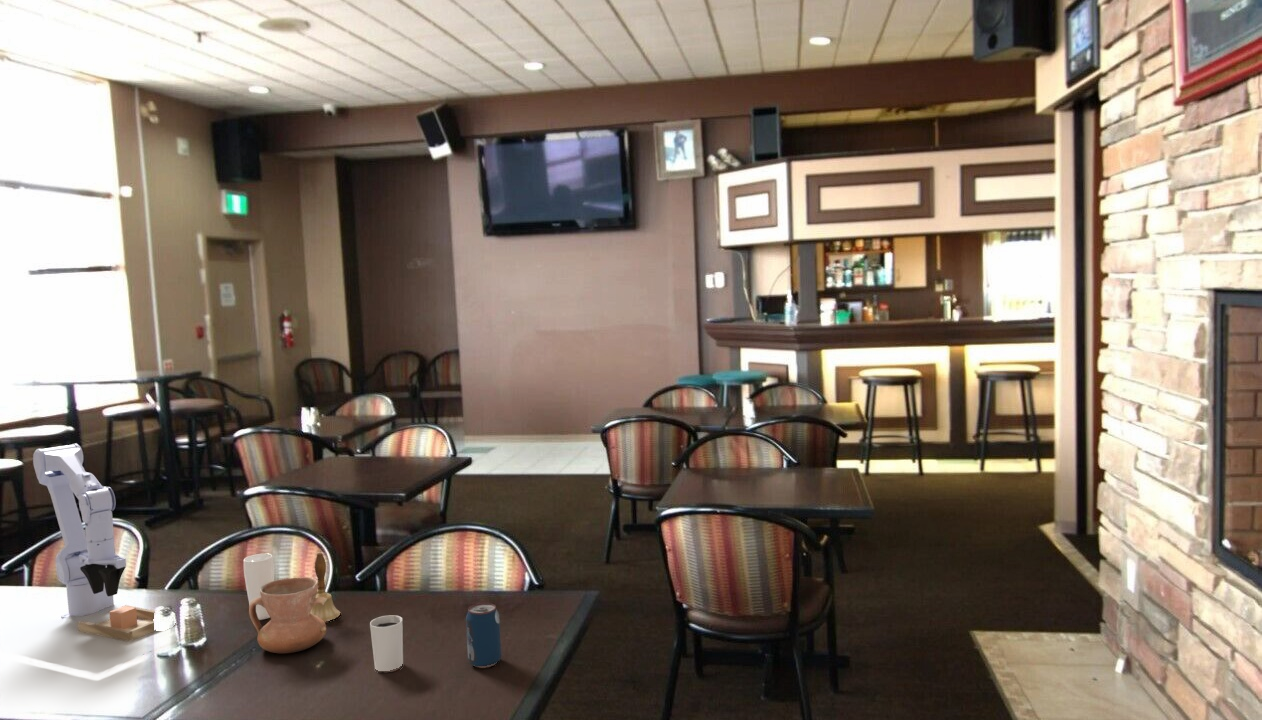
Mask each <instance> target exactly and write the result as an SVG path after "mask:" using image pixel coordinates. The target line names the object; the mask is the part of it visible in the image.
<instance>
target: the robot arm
mask: <svg viewBox="0 0 1262 720" xmlns="http://www.w3.org/2000/svg"><path fill="white" fill-rule="evenodd" d="M32 456H33V457H32V460H33V461H32V462H33V463H32V464H33V468H34V471H35V474H36V478H37V480H38V483H39V485H40V484H41V485H42V486H46V487H47V489H48V492H49V494H50V498H51V502H52V506H53V508H54V512H55V516H56V519H57V523H58V526H59V530H60V533H61V536H62V540H63V544H64V547H62V548H61V549H60V550H59V551H58V552H57V554H56V556H55V560H54V562H55V568H56V569H55V571H56V576H57V579H58V580H59V582H60V583H62V584H63V585H65V586H66V587H65V588H66V597H67V605H68V606H67V607H68V613H66V614H63V615H61V616H60V618H61V619H65V618H68V617H71V616H72V617H81V616H89V615H91V614H94V613H98V612H99V611H101V610H103V609H104V610H105V609H106V608H109V607H112V606H114V603H115V601H114V596H115V595H118V593H119V592H118V591H119V585H120V581H121V578H122V575H123V573H124V571H125V570H126V567H127V561H126V558H125V557H122V556H120V555H119V554H118V553H117V552H116V542H115V532H114V524H113V523H114V520H113V518H114V517H113V511H114V510H115V508H116V503H117V502H116V496H115V493H114V490H113V489H112V487H110V486H107V485H106V486H104V485H102V484H101V483H100V482H99V480H98V479H97V477H96V476H95V475H94V474H93V473H92V472H87V471H86V470H85V467H84V466H83V463H84V452H83V449H82V446H80V445H79V444H78V443H77V442H76V443H72V444H69V445H68V444H66V445H59V446H53V447H46V448H36V450H35V451H34V452H33V455H32ZM75 497H76V498H77V500H78V505H79V509H78V505H77V503H76V498H75ZM79 511H80V512H79ZM80 513H81V516H80ZM82 522H83V523H84V525H83V523H82ZM84 526H85V530H84Z"/></svg>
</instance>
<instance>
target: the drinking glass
mask: <svg viewBox="0 0 1262 720" xmlns="http://www.w3.org/2000/svg"><path fill="white" fill-rule="evenodd" d="M274 567H275V566H274V557H273V555H272V554H271V553H258V554H257V553H256V554H252V555H249V556H246V557H244V559H243V576H244V580H245V581H244V582H245V586H246V587H245V588H246V593H247V599H248V600H247V601H248V604H249V606H250V603H251V602H252V601H253V600H254V599H256V598H261V595H260V588H261V587H262V586H263V585H264V584H266V583H269V582H271V581H275V568H274ZM256 613H257V617H258V619H259V621H263V620H266V619H271V618H270V616H269V614H268V613H267V611H266V609H265V608H264V607H263V606H261V605H258V604H257V605H256Z"/></svg>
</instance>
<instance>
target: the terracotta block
mask: <svg viewBox="0 0 1262 720" xmlns="http://www.w3.org/2000/svg"><path fill="white" fill-rule="evenodd" d="M129 606H130V605H127V606H125V605H123V607H122V606H120V607H118V608H115V609H113V610H110V611H109V619H110V625H111V627H114V628H119V629H126V628H128V627H131V626H133V625H136V624H137V622H138V618H137V613H136V608H134V607H135V606H132V607H129Z"/></svg>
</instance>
